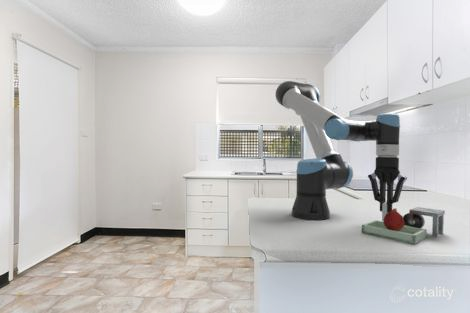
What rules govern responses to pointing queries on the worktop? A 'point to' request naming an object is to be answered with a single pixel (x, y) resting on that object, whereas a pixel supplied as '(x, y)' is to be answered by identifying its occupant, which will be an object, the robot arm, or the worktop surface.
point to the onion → (393, 220)
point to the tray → (395, 232)
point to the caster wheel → (417, 220)
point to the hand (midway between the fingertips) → (385, 220)
